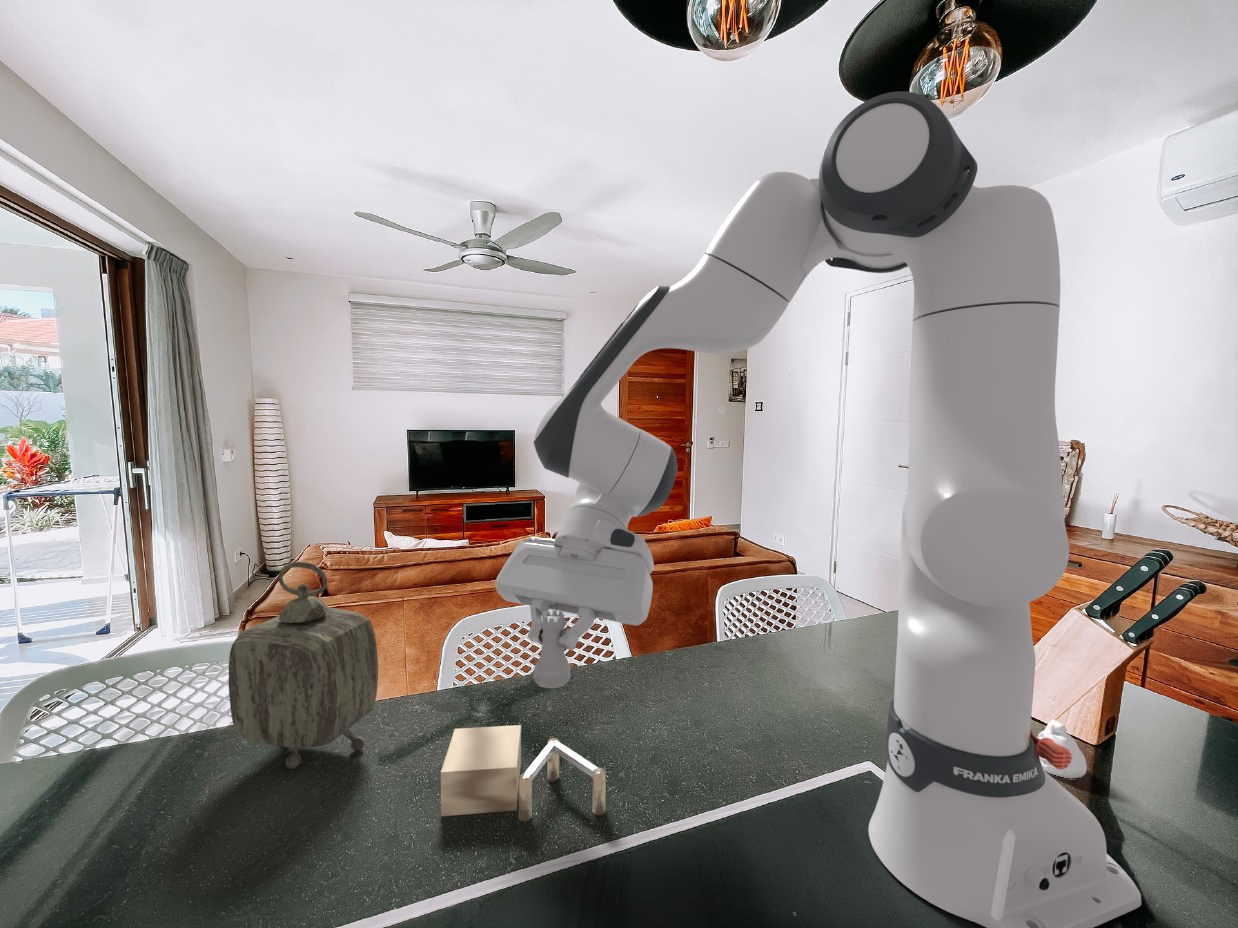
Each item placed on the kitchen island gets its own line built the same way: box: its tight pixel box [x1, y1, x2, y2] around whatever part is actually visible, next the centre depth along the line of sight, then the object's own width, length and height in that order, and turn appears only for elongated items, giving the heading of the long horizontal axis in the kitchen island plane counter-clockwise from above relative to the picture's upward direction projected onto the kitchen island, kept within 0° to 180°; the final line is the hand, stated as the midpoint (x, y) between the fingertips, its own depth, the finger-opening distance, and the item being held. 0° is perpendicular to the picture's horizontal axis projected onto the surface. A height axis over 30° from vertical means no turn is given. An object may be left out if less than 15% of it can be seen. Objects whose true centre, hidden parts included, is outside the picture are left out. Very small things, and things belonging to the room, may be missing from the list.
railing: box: [518, 737, 607, 822], centre depth 59 cm, size 9×7×4 cm
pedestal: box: [440, 724, 522, 817], centre depth 60 cm, size 8×8×5 cm
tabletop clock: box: [228, 561, 379, 770], centre depth 64 cm, size 14×9×25 cm, turn 77°
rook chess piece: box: [533, 610, 572, 689], centre depth 61 cm, size 4×4×8 cm
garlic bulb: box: [1036, 719, 1088, 780], centre depth 65 cm, size 6×6×5 cm
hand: (550, 643), depth 60 cm, fingers closed on rook chess piece, 3 cm apart
